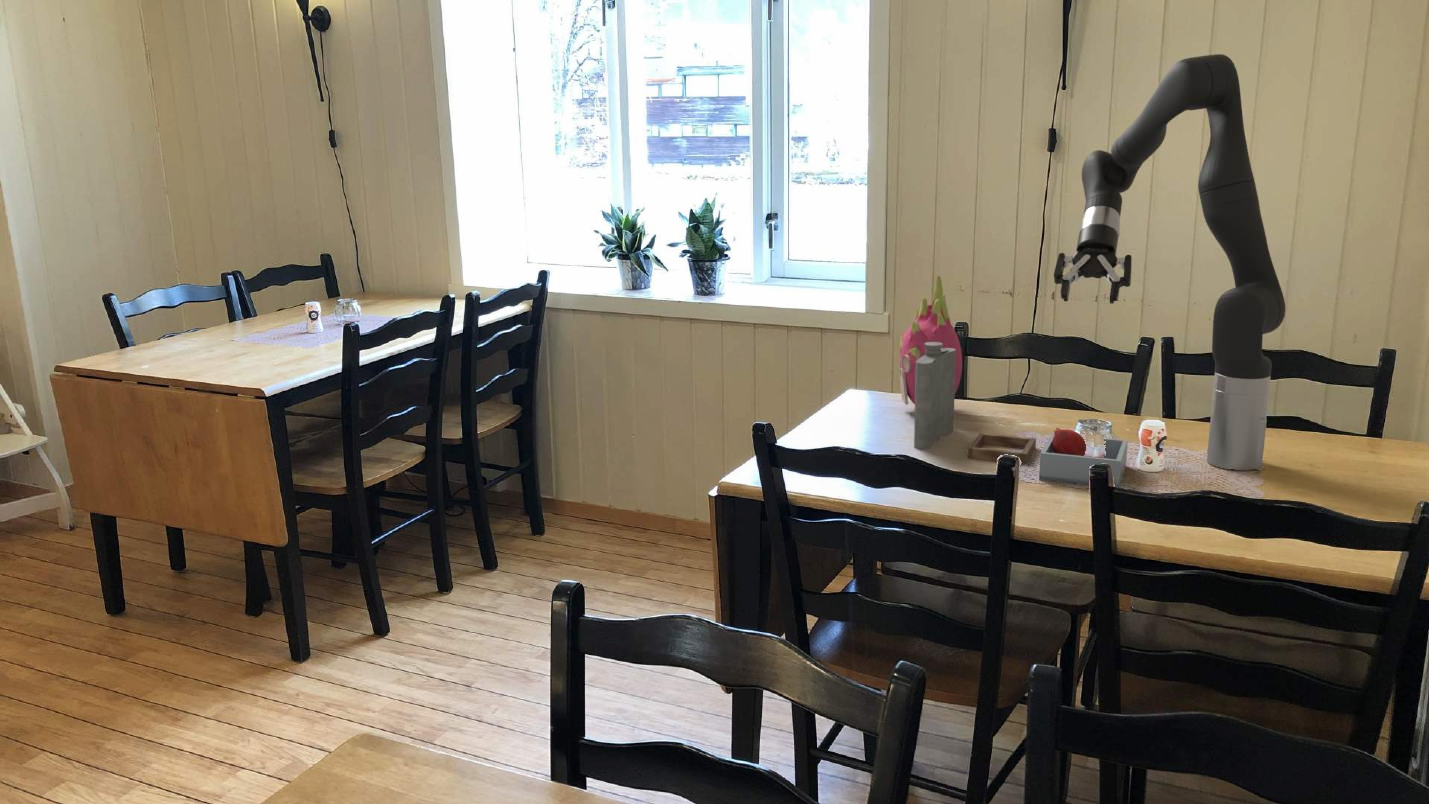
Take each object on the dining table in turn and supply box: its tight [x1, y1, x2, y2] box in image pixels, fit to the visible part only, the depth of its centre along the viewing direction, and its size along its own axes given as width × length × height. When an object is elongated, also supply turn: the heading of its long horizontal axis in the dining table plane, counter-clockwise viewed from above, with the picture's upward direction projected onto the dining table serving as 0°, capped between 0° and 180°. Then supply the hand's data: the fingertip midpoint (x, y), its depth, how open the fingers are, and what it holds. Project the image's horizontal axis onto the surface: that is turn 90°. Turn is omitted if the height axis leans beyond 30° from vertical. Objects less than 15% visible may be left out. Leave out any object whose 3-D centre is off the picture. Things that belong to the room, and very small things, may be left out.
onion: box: [1052, 426, 1086, 456], centre depth 203 cm, size 6×6×8 cm
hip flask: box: [913, 342, 956, 450], centre depth 222 cm, size 16×4×20 cm, turn 147°
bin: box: [1038, 432, 1129, 488], centre depth 201 cm, size 14×14×5 cm
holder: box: [967, 432, 1037, 465], centre depth 214 cm, size 11×11×2 cm
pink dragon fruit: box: [898, 275, 963, 406], centre depth 242 cm, size 18×14×30 cm
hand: (1088, 300), depth 213 cm, fingers open, 8 cm apart
